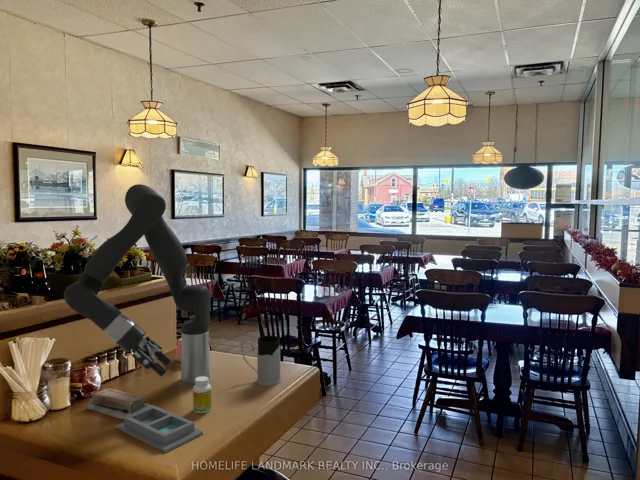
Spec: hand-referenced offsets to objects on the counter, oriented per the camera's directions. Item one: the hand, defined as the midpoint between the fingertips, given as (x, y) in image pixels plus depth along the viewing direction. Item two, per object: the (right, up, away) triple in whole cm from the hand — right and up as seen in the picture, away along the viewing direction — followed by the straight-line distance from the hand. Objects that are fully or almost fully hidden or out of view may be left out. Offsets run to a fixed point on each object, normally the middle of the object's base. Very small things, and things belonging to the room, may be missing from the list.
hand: (166, 368), depth 146 cm
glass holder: (+25, -11, +26) cm, 38 cm away
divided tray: (+1, -14, -11) cm, 18 cm away
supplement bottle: (+10, -13, +3) cm, 17 cm away
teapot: (-5, -9, +47) cm, 48 cm away
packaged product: (-15, -14, +4) cm, 21 cm away
